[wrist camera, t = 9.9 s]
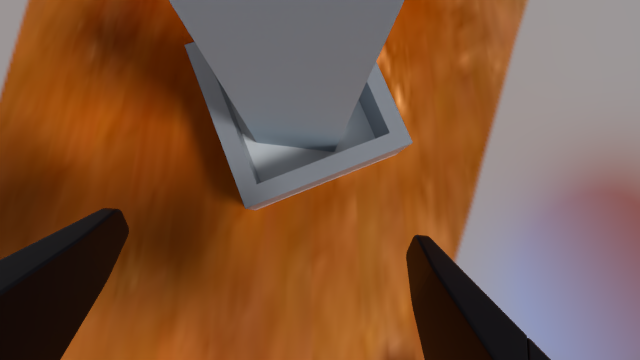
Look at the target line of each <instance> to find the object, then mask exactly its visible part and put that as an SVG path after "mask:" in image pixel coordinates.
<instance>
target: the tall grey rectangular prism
mask: <svg viewBox="0 0 640 360" xmlns="http://www.w3.org/2000/svg"><path fill="white" fill-rule="evenodd" d="M169 1H170V3H171V4H172V6H173V7H174V9H175V11H176V12H177V14H178V16H179V17H180V19H181V20H182V22H183V24H184V25H185V27H186V29H187V30H188V32H189V33H190V35H191V37H192V38H193V40H194V41H195V43H196V45H197V46H198V48H199V50H200V51H201V53H202V54H203V56H204V58H205V59H206V61H207V63H208V64H209V66H210V67H211V69H212V71H213V72H214V74H215V75H216V77H217V79H218V80H219V82H220V84H221V85H222V87H223V88H224V90H225V92H226V93H227V95H228V97H229V98H230V100H231V101H232V103H233V105H234V106H235V108H236V109H237V111H238V113H239V114H240V116H241V118H242V119H243V121H244V122H245V124H246V126H247V127H248V129H249V130H250V132H251V134H252V135H253V137H254V139H255V140H256V142H257V143H263V144H271V145H280V146H288V147H296V148H305V149H313V150H321V151H329V152H334V151H335V149H336V147H337V145H338V143H339V141H340V138H341V136H342V134H343V132H344V130H345V128H346V125H347V123H348V121H349V119H350V117H351V115H352V112H353V110H354V108H355V106H356V104H357V102H358V99H359V97H360V95H361V93H362V91H363V89H364V86H365V84H366V82H367V80H368V78H369V76H370V73H371V71H372V69H373V67H374V65H375V63H376V60H377V58H378V56H379V54H380V52H381V50H382V47H383V45H384V43H385V41H386V39H387V37H388V34H389V32H390V30H391V28H392V26H393V24H394V21H395V19H396V17H397V15H398V13H399V11H400V8H401V6H402V4H403V2H404V0H169Z"/></svg>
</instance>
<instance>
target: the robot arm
mask: <svg viewBox="0 0 640 360" xmlns="http://www.w3.org/2000/svg"><path fill="white" fill-rule="evenodd" d="M128 234H129V227H128V225H127V223H126V220H125V218H124V216H123V213H122V212H121V211H120V210H119V209H112V208H103V209H101V210H99V211H97V212H95V213H93V214H91V215H89V216H87V217H85V218H83V219H81V220H79V221H77V222H75V223H73V224H71V225H69V226H67V227H65V228H63V229H61V230H59V231H57V232H55V233H53V234H51V235H49V236H47V237H45V238H43V239H41V240H39V241H37V242H35V243H33V244H31V245H29V246H27V247H25V248H23V249H21V250H19V251H17V252H15V253H13V254H11V255H9V256H7V257H5V258H3V259H1V260H0V360H60V359H61V358H62V356H63V354H64V353H65V351H66V349H67V348H68V346H69V344H70V343H71V341H72V339H73V338H74V336H75V334H76V332H77V331H78V329H79V327H80V326H81V324H82V322H83V321H84V319H85V317H86V316H87V314H88V312H89V311H90V309H91V307H92V306H93V304H94V302H95V301H96V299H97V297H98V296H99V294H100V292H101V291H102V289H103V287H104V285H105V283H106V282H107V280H108V278H109V276H110V274H111V272H112V269H113V267H114V265H115V263H116V261H117V259H118V256H119V254H120V252H121V250H122V248H123V246H124V243H125V241H126V239H127V237H128ZM406 260H407V268H408V276H409V284H410V293H411V300H412V306H413V311H414V316H415V320H416V324H417V328H418V333H419V337H420V341H421V345H422V350H423V354H424V358H425V360H551V359H550V358H549V357H547V355H545V353H544V352H543V351H541V350H540V348H539V347H537V345H535V343H534V342H533V341H532V340H531V339H529V338H527V336H526V335H525V333H524V332H523V331H521V329H520V328H519V327H517V325H516V324H515V323H514V322H513V321H512V320H511V319H510V318H509V317H508V316H507V315H506V314H505V313H504V312H503V311H502V310H501V309H500V308H499V307H498V306H497V305H496V304H495V303H494V302H493V301H492V300H491V299H490V298H489V297H488V296H487V295H486V294H485V293H484V292H483V291H482V290H481V289H480V288H479V287H478V286H477V285H476V284H475V283H474V282H473V281H472V280H471V279H470V278H469V277H468V276H467V275H466V274H465V273H464V272H463V270H461V269H460V268H459V266H458V265H457V264H456V263H455V262H454V261H453V260H452V259H451V258H450V257H449V256H448V255H447V254H446V253H445V252H444V251H443V250H442V249H441V248H440V247H439V246H438V245H437V244H436V243H435V242H434V241H433V240H432V239H431V238H430V237H428V236H423V235H415V236H414V237H413V239H412V241H411V244H410V246H409V248H408V251H407V255H406Z"/></svg>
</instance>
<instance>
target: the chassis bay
mask: <svg viewBox="0 0 640 360" xmlns="http://www.w3.org/2000/svg"><path fill="white" fill-rule="evenodd" d="M185 48H186V50H187V53H188V56H189V58H190V61H191V64H192V66H193V69H194V72H195V74H196V77H197V80H198V83H199V85H200V88H201V91H202V93H203V96H204V99H205V101H206V104H207V107H208V109H209V112H210V115H211V117H212V120H213V123H214V126H215V128H216V131H217V134H218V136H219V139H220V142H221V144H222V147H223V150H224V152H225V155H226V158H227V161H228V163H229V166H230V169H231V171H232V174H233V177H234V179H235V182H236V185H237V187H238V190H239V193H240V195H241V198H242V201H243V204H244V206H245V209H251V210H257V209H260V208H262V207H265V206H267V205H270V204H272V203H275V202H277V201H280V200H282V199H285V198H288V197H290V196H293V195H295V194H298V193H300V192H303V191H305V190H308V189H310V188H313V187H315V186H318V185H320V184H323V183H325V182H328V181H330V180H333V179H336V178H338V177H341V176H343V175H346V174H348V173H351V172H353V171H356V170H358V169H361V168H363V167H366V166H368V165H371V164H373V163H376V162H378V161H381V160H384V159H386V158H389V157H391V156H394V155H396V154H397V153H399V152H400V151H401V150H403V149H404V148H406V147H407V146H409V145H410V144H412V143H413V142H412V140H411V138H410V136H409V133H408V131H407V129H406V127H405V125H404V122H403V120H402V118H401V116H400V114H399V111H398V109H397V107H396V105H395V102H394V100H393V98H392V96H391V94H390V91H389V89H388V87H387V85H386V82H385V80H384V78H383V76H382V74H381V71H380V69H379V67H378V65H377V63H375V65H374V67H373V69H372V71H371V73H370V76H369V78H368V80H367V82H366V84H365V86H364V89H363V91H362V93H361V95H360V97H359V99H358V102H357V104H356V106H355V108H354V110H353V112H352V115H351V117H350V119H349V121H348V123H347V125H346V128H345V130H344V132H343V134H342V136H341V138H340V141H339V143H338V145H337V147H336V149H335V151H334V152H329V151H321V150H313V149H305V148H296V147H288V146H280V145H271V144H263V143H257V142H256V140H255V139H254V137H253V135H252V134H251V132H250V130H249V129H248V127H247V126H246V124H245V122H244V121H243V119H242V118H241V116H240V114H239V113H238V111H237V109H236V108H235V106H234V105H233V103H232V101H231V100H230V98H229V97H228V95H227V93H226V92H225V90H224V88H223V87H222V85H221V84H220V82H219V80H218V79H217V77H216V75H215V74H214V72H213V71H212V69H211V67H210V66H209V64H208V63H207V61H206V59H205V58H204V56H203V54H202V53H201V51H200V50H199V48H198V46H197V45H196V43H195V42H192V43H189V44H186V45H185Z"/></svg>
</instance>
